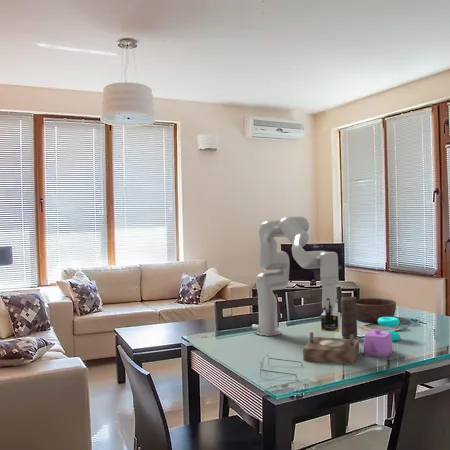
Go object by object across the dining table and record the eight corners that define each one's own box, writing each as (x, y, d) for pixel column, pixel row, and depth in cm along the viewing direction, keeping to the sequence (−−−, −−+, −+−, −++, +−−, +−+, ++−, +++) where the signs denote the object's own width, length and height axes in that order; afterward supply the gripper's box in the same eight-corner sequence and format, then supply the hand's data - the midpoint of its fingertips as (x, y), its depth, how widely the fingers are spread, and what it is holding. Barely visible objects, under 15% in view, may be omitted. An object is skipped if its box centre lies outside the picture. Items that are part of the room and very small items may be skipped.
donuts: (396, 321, 216) (374, 319, 222) (397, 342, 216) (375, 340, 222) (402, 317, 224) (381, 315, 230) (402, 338, 224) (381, 335, 230)
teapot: (385, 361, 189) (384, 335, 189) (359, 357, 195) (358, 333, 195) (396, 350, 204) (395, 326, 204) (371, 347, 210) (371, 324, 210)
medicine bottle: (321, 331, 197) (320, 302, 197) (324, 327, 203) (323, 300, 204) (338, 332, 194) (337, 303, 194) (341, 328, 201) (340, 300, 201)
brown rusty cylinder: (358, 340, 223) (356, 298, 223) (342, 340, 224) (340, 298, 224) (356, 336, 230) (355, 295, 230) (341, 336, 232) (340, 295, 232)
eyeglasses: (265, 365, 189) (264, 353, 189) (302, 367, 185) (302, 355, 185) (257, 378, 174) (256, 365, 174) (297, 380, 170) (296, 367, 170)
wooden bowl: (348, 315, 284) (348, 298, 284) (391, 314, 281) (390, 297, 281) (354, 323, 259) (353, 305, 259) (401, 323, 256) (400, 304, 256)
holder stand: (303, 360, 193) (302, 337, 193) (313, 347, 212) (312, 327, 212) (353, 364, 186) (352, 340, 186) (359, 351, 204) (358, 329, 204)
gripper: (324, 278, 208) (325, 318, 208) (316, 283, 192) (318, 326, 192) (341, 278, 206) (343, 319, 205) (335, 283, 189) (336, 327, 189)
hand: (331, 322), depth 199 cm, fingers closed on medicine bottle, 7 cm apart
